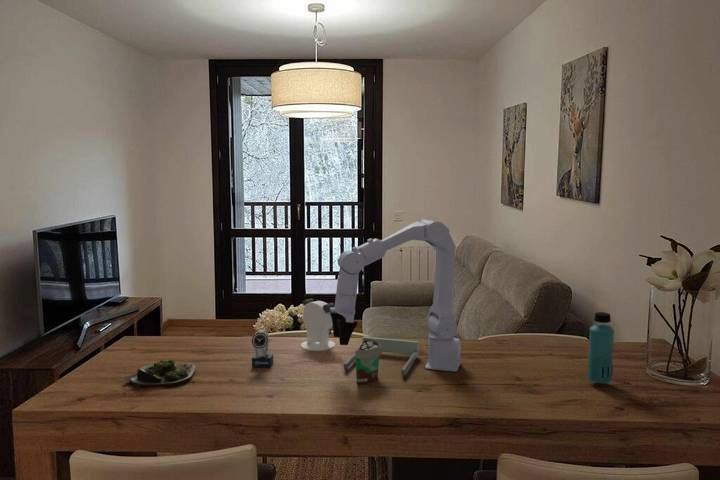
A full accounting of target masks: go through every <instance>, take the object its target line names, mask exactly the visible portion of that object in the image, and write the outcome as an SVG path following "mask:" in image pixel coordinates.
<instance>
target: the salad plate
mask: <svg viewBox="0 0 720 480" xmlns="http://www.w3.org/2000/svg"><path fill="white" fill-rule="evenodd" d="M195 371H196V365H195V364H192V363H188V362H186V363H185V362H182V363H176V361H175V360H173V359H171V358H170V359H168V358H165V359H164V360H162V359H161V360H159V361H156V362H154V363H153V364H152V363H151V364H148V365H145V366H141V367H140V368H138V369H137V371H136V373H134V374H131V375H129V376H126V377H124V381H126V382H129V383H131V384H133V385H134V386H135V385H136V386H135V387H137V386H139V387H138V388H142V387H166V388H174V387H178V386H181V385H183V384H186V383H187V382H189V381H190V380H192V378H193V375H194V374H195ZM173 386H174V387H173Z"/></svg>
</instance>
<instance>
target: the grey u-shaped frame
mask: <svg viewBox="0 0 720 480" xmlns="http://www.w3.org/2000/svg"><path fill="white" fill-rule="evenodd" d="M364 338H367V339H373V340H376V341H378V342H379V343H380V345H381V350H382V352H381V353H389V354H390V353H391V354H399V355H400V354H401V355H410V357H409V358H408V360H407V362H406V363H405V364H404V366H403V367H402V369H401V373H400V374H401V378H406V374H407V372H408V371H409V369H410V368H411V366H412V365H413V363H414V362H415V361H416V360H417V359H418V356H419V347H420V346H419V341H418V340H417V341H416V340H407V339H405V340H404V339H395V338H394V339H393V338H383V337H382V338H381V337H374V336H373V337H372V336H362V337H361V339H362V341H361V342H362V344H363V342H364ZM362 344H361V345H362ZM357 350H359V348H358V349H357ZM355 354H356V351H355V352H354V353H352V355H351V356H350V357H349V358H348V359H347V360H345V362H344V363H343V370H344V371H345V372H346V371H348V370H349V369H348V368H349V367H350V366H351V365H353V363H354V362H356V358H355Z"/></svg>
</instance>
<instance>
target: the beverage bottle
mask: <svg viewBox="0 0 720 480" xmlns="http://www.w3.org/2000/svg"><path fill="white" fill-rule="evenodd" d="M593 321H594V322H597V323H594V324H593V325H591V326H590V327H589V340H588V353H587V358H588V359H587V368H586V370H587V372H586V373H587V375H586V376H587V378H588V380H589V381H590V382H593V383H596V384H610V383H612V380H613V377H614V353H615V349H614V347H615V346H614V345H615V343H614V341H615V340H614V339H615V329H614V328H613V327H612V326H611V325H609V324H607V323H610V322H611V314H610V313H608V312H603V311H601V312H600V311H598V312H597V311H596V312H595V313H594V317H593Z"/></svg>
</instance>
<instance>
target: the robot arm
mask: <svg viewBox="0 0 720 480" xmlns="http://www.w3.org/2000/svg"><path fill="white" fill-rule="evenodd" d="M412 240H413V241H419V242H420V241H421V242H425V243H428V244H429V245H430V246H431V248H433V250H434V251H436V256H435V257H436V259H435V269H434V270H435V272H434V273H435V274H434V286H433V287H434V289H433V301H432V305H431V306H430V307H429V312H428V315H427V317H426V319H425V326H426V328H427V329H428V330H429V332H428V356H427V357H428V360H427V363H426V365H425V367H424V369H426V370H435V371H445V372H454V373H455V372H458V370H459V368H460V365H461V363H462V361H461V359H462V358H461V349H462V348H461V347H462V344H461V343H462V342H461V339H460V338H457V337H455V335H456V334H457V331H458V328H457V327H458V325H457V323H456V320H455V319H456V317H455V315H456V314H455V312H454V310H453V307H452V301H453V299H452V298H453V289H454V287H453V286H454V275H455V273H454V272H455V260H456V244H455V242H454V240H453V237H452V236H451V233H450V228H448V227H447V226H446V224H444V223H443V222H442V221H436V220H431V219H429V218H422V219H420V220H418V221H414V222H412V223H410V224H409V225H407V226H405V227H403V228H402V229H399V230H398V231H396V232H394V233H393V234H390V235H389V236H386V237H385V238H383V239H379V238H372V237H371V238H368V239H367V240H366V241H367V242H365V243H363V244H360V245H359V246H357V247H356V246H353V247H352V250H345V251H343V252H342V253H340V255H339V256H338V258H337V261H336V262H337V264H338V265H337V266H338V267H339V270H338V271H339V272H338V276H337V281H336V282H337V283H336V293H335V301H334V305H335V306H334V308H332V307H331V308H330V310H331V312H330V315H331V318H332V323H333V326H332V333H333V337H334V338H339V341H338V342H339V345H340V346H348V345H349V343H350V340H351V337H352V335H353V333H354V330H355V329H356V328H357V326H358V324H359V322H358V321H355V314H356V301H357V293H358V285H359V275H360V274H359V273H360V272H361V271H363V269H364V267H366V266H368V265H370V264H372V263H374V262H376V261H377V260H380V259H382V258H384V257H385V255H386V253H387V251H388V250H391V249H394V248H396V247H398V246H401V245H403V244H405V243H408V242H410V241H412Z"/></svg>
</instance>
